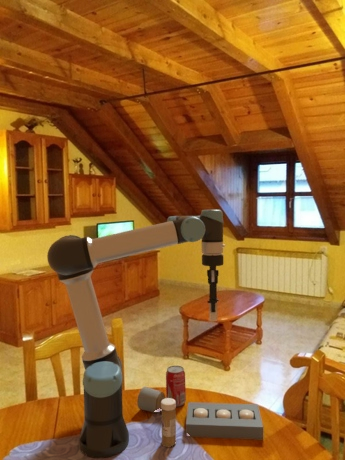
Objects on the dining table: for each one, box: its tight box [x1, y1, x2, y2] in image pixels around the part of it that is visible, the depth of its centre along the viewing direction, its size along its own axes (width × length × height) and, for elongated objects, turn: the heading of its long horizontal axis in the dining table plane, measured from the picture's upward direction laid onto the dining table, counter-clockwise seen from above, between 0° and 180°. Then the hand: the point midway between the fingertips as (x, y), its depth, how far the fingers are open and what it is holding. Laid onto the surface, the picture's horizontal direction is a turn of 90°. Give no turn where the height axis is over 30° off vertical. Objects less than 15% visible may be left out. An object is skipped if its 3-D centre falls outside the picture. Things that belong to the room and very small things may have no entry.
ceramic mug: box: [136, 386, 166, 413], centre depth 142 cm, size 11×8×8 cm
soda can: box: [165, 365, 187, 408], centre depth 145 cm, size 7×7×13 cm
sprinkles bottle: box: [161, 397, 177, 448], centre depth 120 cm, size 5×5×14 cm
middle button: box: [216, 410, 231, 419], centre depth 130 cm, size 5×5×3 cm
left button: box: [194, 408, 208, 418], centre depth 130 cm, size 5×5×3 cm
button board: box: [185, 401, 264, 440], centre depth 130 cm, size 24×14×4 cm, turn 85°
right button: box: [239, 410, 254, 419], centre depth 129 cm, size 5×5×3 cm
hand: (213, 320), depth 138 cm, fingers closed
